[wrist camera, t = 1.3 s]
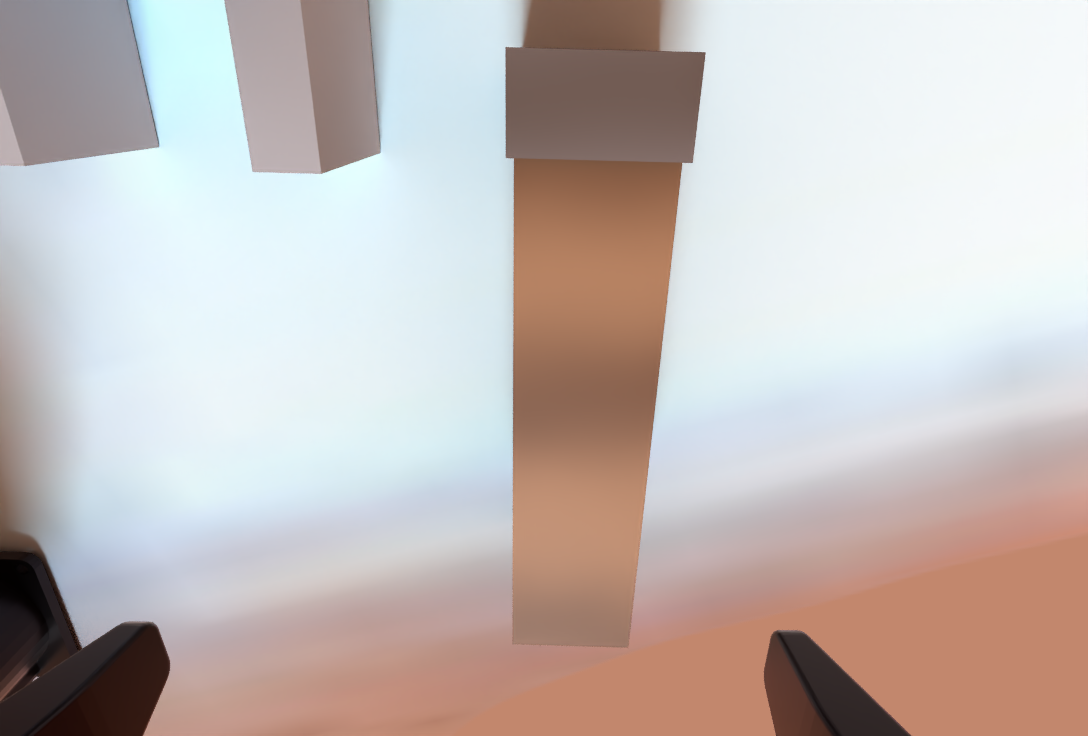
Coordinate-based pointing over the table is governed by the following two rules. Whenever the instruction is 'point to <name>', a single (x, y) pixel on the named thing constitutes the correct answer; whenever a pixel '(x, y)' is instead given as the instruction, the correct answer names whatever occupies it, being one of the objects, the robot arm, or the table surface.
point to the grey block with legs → (121, 98)
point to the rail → (589, 321)
